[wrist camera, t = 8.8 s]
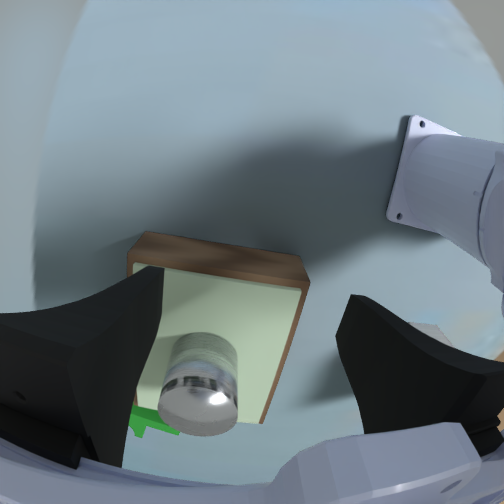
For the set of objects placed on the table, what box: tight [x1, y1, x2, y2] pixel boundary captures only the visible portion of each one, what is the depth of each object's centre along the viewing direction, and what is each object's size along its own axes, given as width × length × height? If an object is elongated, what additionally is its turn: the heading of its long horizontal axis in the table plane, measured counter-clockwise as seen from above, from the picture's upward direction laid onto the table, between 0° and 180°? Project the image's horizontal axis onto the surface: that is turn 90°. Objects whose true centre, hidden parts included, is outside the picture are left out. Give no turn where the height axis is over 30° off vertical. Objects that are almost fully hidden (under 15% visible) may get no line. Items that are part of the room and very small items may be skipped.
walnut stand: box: [127, 231, 310, 424], centre depth 22 cm, size 11×14×4 cm
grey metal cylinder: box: [157, 332, 238, 436], centre depth 18 cm, size 4×4×5 cm
